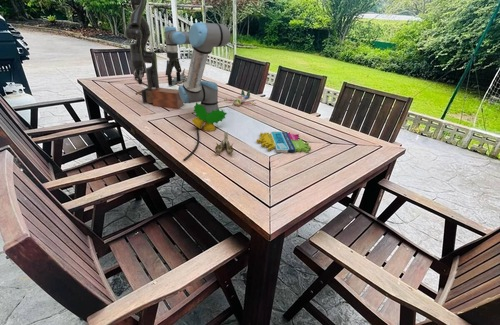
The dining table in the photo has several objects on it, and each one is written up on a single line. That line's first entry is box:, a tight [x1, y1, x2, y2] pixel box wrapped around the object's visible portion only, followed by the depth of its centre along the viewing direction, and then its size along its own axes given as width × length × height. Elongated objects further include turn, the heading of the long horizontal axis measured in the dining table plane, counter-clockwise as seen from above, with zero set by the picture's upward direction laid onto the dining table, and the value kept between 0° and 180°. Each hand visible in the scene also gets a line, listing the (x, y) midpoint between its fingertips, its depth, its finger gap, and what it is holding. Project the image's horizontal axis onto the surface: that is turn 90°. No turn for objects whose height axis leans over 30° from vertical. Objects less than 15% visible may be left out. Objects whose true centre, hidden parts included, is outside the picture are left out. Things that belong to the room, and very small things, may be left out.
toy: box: [223, 89, 257, 106], centre depth 219 cm, size 28×7×30 cm
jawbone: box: [214, 131, 234, 156], centre depth 136 cm, size 9×15×10 cm
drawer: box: [135, 87, 154, 104], centre depth 199 cm, size 24×9×10 cm, turn 78°
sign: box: [256, 131, 312, 154], centre depth 152 cm, size 26×2×30 cm
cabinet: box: [152, 86, 185, 110], centre depth 197 cm, size 20×11×12 cm, turn 78°
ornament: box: [191, 102, 228, 132], centre depth 162 cm, size 21×8×15 cm, turn 105°
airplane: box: [165, 68, 188, 87], centre depth 265 cm, size 38×32×10 cm
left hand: (140, 84), depth 196 cm, fingers closed
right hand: (174, 83), depth 191 cm, fingers open, 13 cm apart
